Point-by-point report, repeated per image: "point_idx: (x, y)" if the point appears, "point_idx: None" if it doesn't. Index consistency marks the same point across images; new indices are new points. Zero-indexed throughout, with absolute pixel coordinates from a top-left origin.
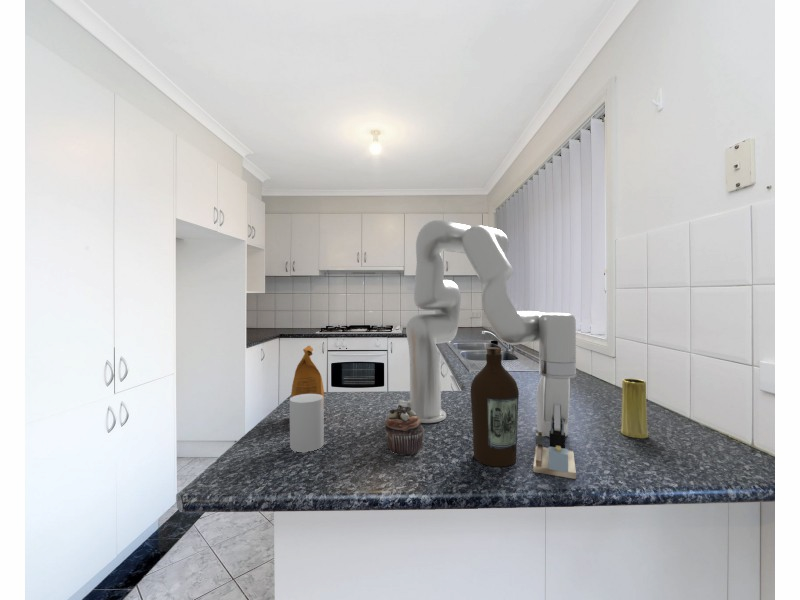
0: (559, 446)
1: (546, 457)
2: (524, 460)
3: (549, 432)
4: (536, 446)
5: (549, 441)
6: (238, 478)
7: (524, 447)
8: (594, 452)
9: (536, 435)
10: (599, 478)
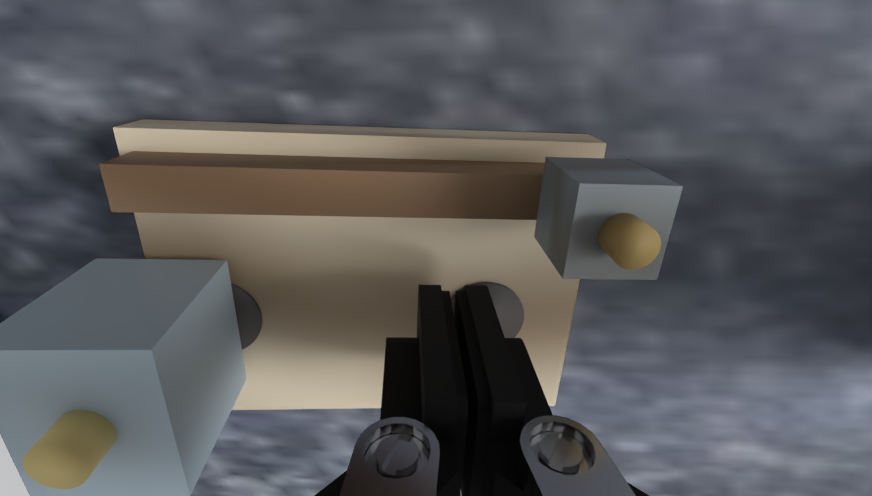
0: (71, 477)
1: (366, 235)
2: (348, 31)
3: (445, 403)
4: (602, 148)
5: (420, 330)
6: None
7: (664, 21)
8: (642, 474)
9: (579, 191)
10: (283, 477)
